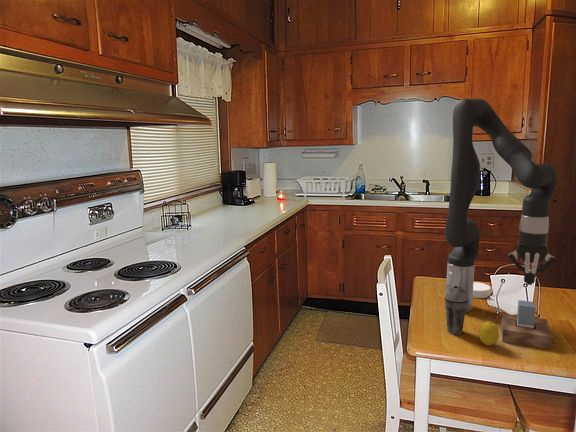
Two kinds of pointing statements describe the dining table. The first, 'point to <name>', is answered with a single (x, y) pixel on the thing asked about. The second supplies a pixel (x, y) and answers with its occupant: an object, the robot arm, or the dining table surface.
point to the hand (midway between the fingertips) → (529, 283)
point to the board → (526, 332)
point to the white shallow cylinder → (481, 290)
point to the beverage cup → (455, 308)
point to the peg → (525, 314)
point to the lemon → (489, 333)
